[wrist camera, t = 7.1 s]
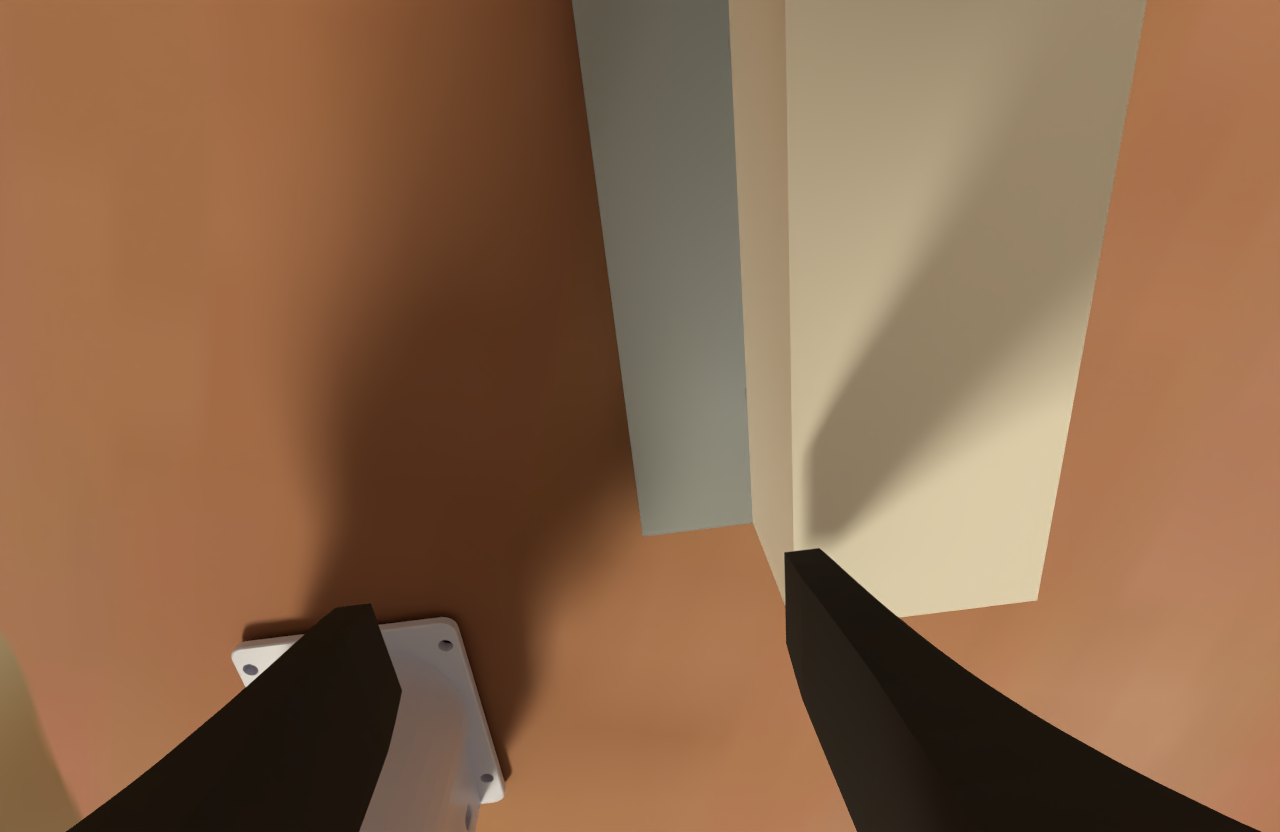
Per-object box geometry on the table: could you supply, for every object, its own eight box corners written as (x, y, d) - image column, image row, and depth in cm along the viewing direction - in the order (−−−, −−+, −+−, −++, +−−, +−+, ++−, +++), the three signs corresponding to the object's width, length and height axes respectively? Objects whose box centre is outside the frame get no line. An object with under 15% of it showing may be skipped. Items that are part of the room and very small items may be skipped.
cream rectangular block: (940, 498, 16) (1037, 600, 13) (752, 521, 16) (794, 629, 13) (1007, -193, 11) (1214, -368, 7) (721, -157, 11) (779, -314, 7)
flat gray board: (962, 476, 21) (1041, 549, 17) (640, 516, 21) (648, 598, 17) (1039, -225, 14) (1207, -369, 10) (551, -165, 14) (529, -286, 10)
